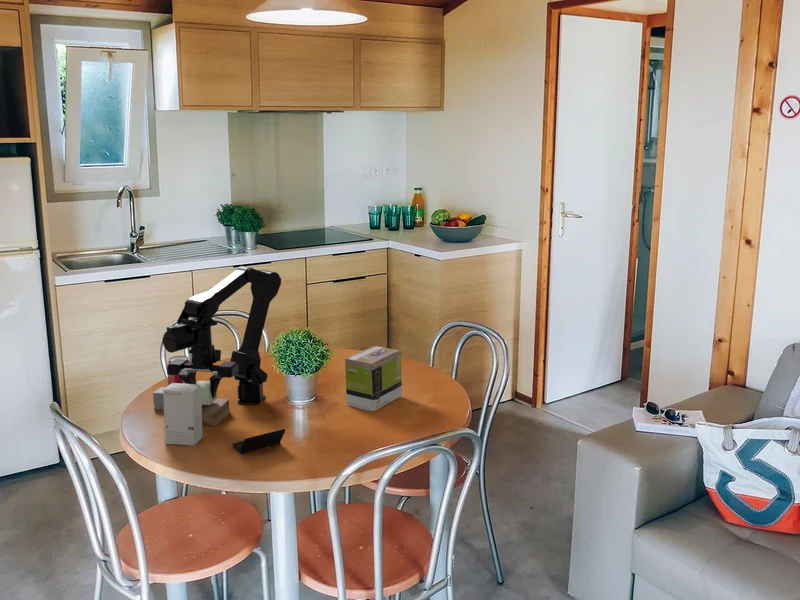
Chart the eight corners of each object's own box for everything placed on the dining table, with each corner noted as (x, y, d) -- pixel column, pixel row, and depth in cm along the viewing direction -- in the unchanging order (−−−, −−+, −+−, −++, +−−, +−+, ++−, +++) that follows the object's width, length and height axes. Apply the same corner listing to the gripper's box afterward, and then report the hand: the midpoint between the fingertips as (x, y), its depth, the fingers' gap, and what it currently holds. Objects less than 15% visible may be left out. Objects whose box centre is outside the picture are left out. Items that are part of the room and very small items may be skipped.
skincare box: (164, 444, 196) (160, 389, 193) (174, 435, 202) (170, 381, 199) (195, 446, 195) (192, 391, 192) (204, 436, 201) (201, 383, 198)
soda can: (197, 393, 233) (194, 355, 230) (188, 401, 226) (185, 362, 223) (174, 392, 234) (171, 354, 231) (165, 400, 227) (162, 361, 224)
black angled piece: (265, 428, 202) (273, 408, 195) (280, 450, 200) (289, 430, 193) (227, 447, 195) (235, 426, 188) (242, 469, 192) (250, 449, 186)
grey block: (178, 403, 224) (177, 387, 223) (170, 410, 220) (169, 393, 218) (162, 403, 225) (161, 386, 224) (154, 409, 220) (153, 392, 219)
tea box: (375, 390, 235) (375, 344, 231) (402, 397, 229) (402, 349, 226) (345, 405, 223) (344, 357, 219) (373, 412, 217) (372, 363, 214)
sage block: (216, 398, 214) (215, 381, 213) (209, 405, 209) (208, 387, 208) (199, 397, 215) (198, 380, 214) (192, 404, 210) (191, 386, 209)
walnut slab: (229, 412, 217) (228, 399, 216) (216, 426, 208) (215, 412, 207) (196, 410, 219) (195, 397, 218) (181, 424, 209) (180, 410, 208)
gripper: (244, 336, 215) (247, 389, 218) (181, 334, 217) (185, 386, 221) (229, 348, 204) (232, 403, 208) (163, 345, 207) (168, 399, 210)
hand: (204, 397), depth 212 cm, fingers closed on sage block, 5 cm apart
